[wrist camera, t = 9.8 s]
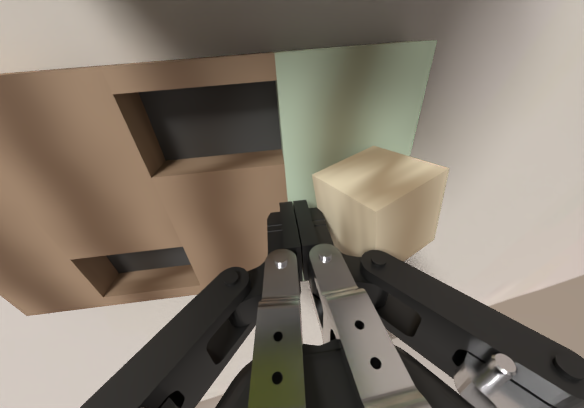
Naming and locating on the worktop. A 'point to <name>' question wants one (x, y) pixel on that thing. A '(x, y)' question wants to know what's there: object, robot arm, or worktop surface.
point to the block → (381, 202)
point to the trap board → (180, 163)
